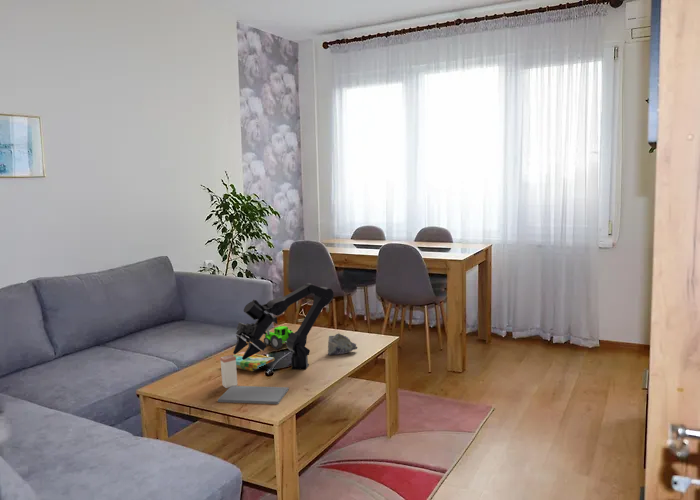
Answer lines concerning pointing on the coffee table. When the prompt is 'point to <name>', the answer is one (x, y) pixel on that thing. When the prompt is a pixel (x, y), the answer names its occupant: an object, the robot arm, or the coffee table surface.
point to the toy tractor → (277, 337)
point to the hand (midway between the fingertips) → (238, 356)
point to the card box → (228, 371)
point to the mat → (254, 394)
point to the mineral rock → (340, 345)
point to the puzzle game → (251, 361)
